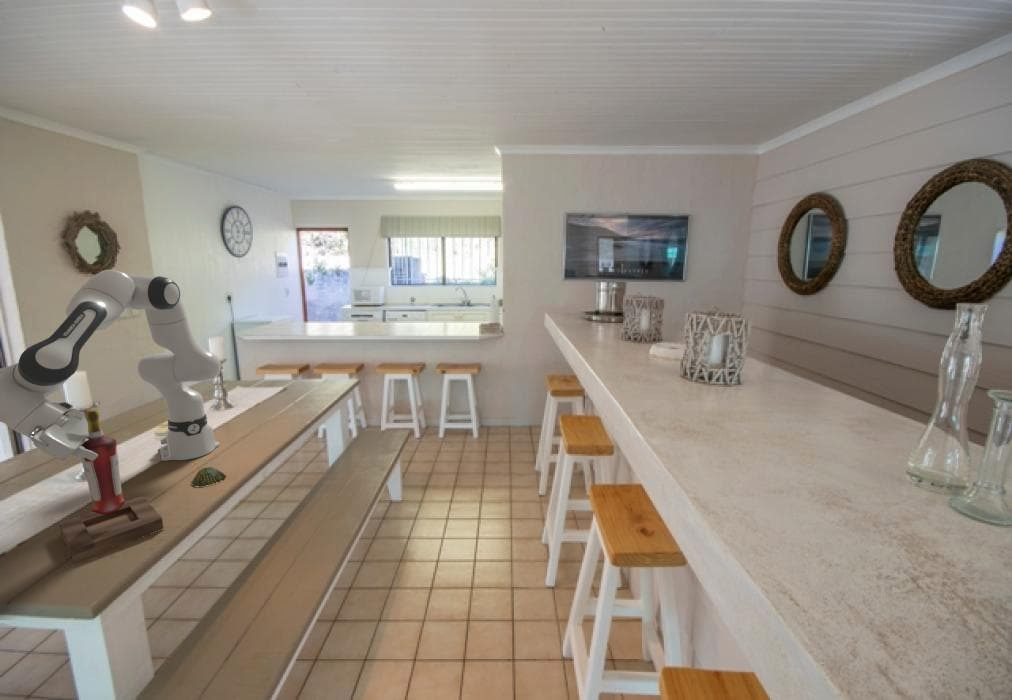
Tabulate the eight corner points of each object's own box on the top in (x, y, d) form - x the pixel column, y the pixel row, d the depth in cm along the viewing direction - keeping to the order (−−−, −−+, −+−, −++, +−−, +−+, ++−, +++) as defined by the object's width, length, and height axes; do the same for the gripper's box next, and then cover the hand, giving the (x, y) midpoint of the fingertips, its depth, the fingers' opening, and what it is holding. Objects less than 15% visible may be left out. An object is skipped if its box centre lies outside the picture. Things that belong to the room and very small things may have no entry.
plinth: (61, 534, 120) (59, 522, 119) (145, 506, 134) (143, 496, 133) (74, 563, 109) (71, 550, 108) (163, 529, 123) (161, 518, 122)
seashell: (194, 478, 143) (186, 469, 149) (195, 491, 143) (187, 480, 150) (230, 470, 150) (220, 461, 157) (230, 482, 151) (221, 472, 157)
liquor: (89, 510, 120) (70, 410, 114) (124, 499, 125) (108, 404, 120) (93, 520, 115) (73, 417, 109) (129, 509, 120) (112, 410, 115)
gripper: (36, 425, 102) (99, 456, 109) (69, 400, 120) (121, 428, 126) (13, 446, 101) (78, 477, 107) (49, 418, 119) (103, 446, 125)
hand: (101, 451), depth 117 cm, fingers closed on liquor, 7 cm apart
